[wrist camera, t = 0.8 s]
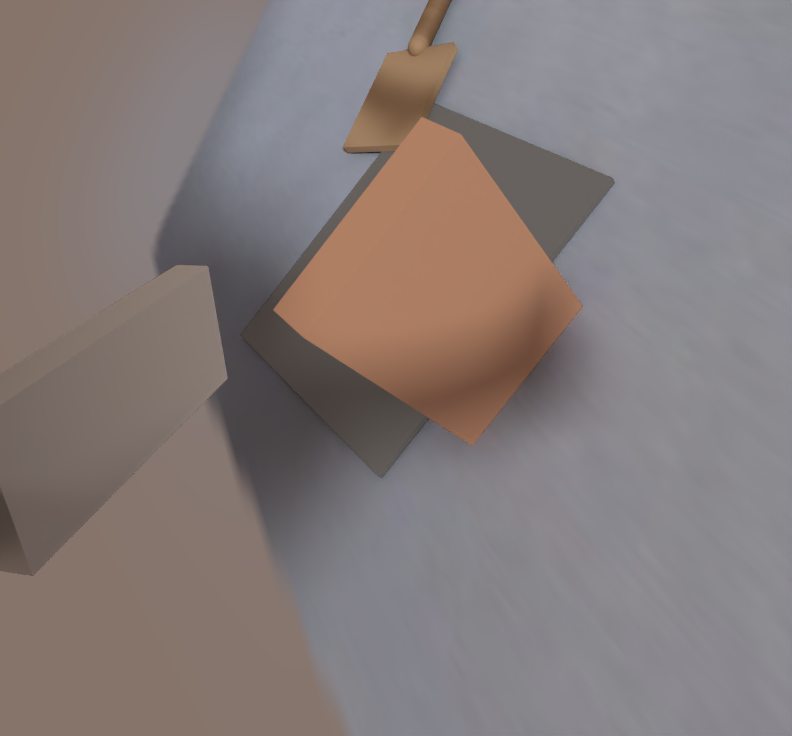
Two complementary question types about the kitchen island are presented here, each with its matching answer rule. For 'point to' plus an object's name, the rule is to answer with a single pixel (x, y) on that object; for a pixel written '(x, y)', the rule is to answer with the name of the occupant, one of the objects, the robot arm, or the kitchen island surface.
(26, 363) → the robot arm
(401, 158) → the tile
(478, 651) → the kitchen island surface
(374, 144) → the wooden turner
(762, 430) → the kitchen island surface
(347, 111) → the kitchen island surface
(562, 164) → the mat
